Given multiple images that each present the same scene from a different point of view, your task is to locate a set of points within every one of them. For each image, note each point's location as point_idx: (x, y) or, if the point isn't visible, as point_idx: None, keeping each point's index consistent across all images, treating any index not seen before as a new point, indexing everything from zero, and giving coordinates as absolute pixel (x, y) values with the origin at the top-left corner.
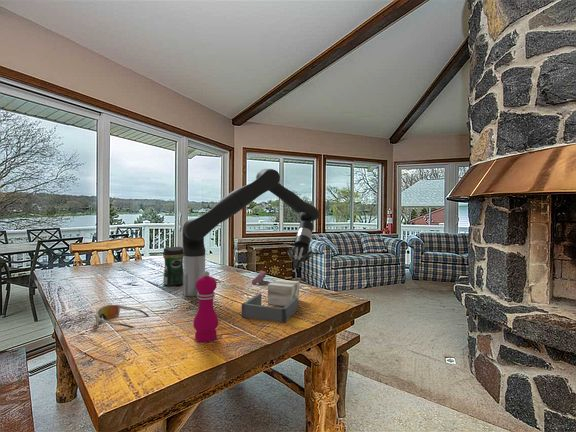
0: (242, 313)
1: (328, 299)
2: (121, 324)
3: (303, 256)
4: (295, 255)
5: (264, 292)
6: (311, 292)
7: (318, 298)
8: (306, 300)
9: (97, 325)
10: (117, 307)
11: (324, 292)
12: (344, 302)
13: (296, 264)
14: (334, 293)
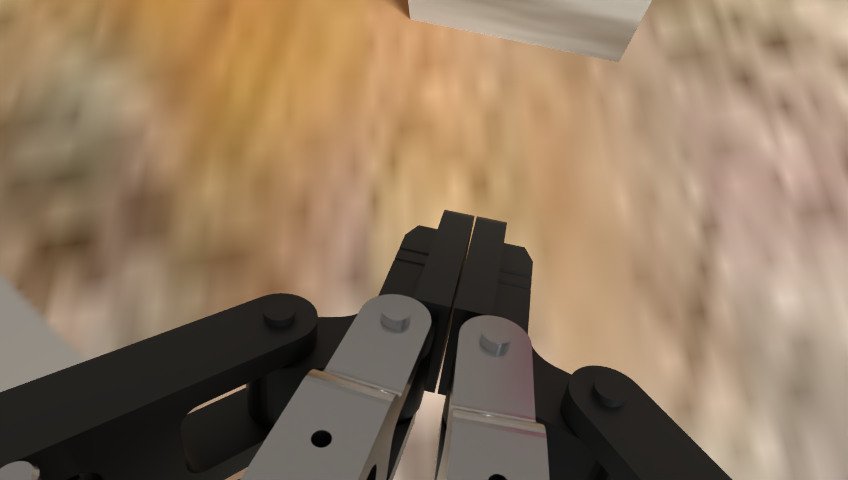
0: None
1: (151, 71)
2: None
3: (254, 353)
4: (520, 424)
5: (787, 208)
6: (291, 279)
7: (236, 86)
8: (344, 15)
9: None
10: None
11: (156, 299)
12: (33, 11)
13: (459, 234)
14: (60, 275)
